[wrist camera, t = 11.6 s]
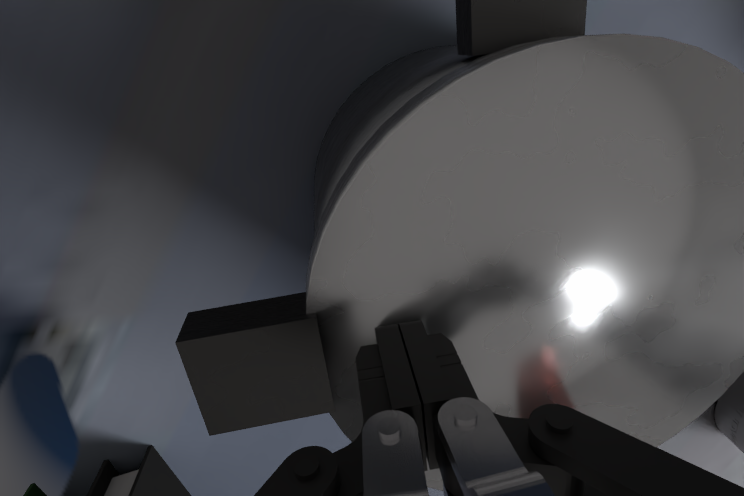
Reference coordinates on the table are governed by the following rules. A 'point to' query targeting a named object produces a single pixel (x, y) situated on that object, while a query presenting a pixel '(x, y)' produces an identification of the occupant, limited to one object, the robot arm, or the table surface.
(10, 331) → the table surface
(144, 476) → the binder
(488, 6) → the pot
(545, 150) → the lid
